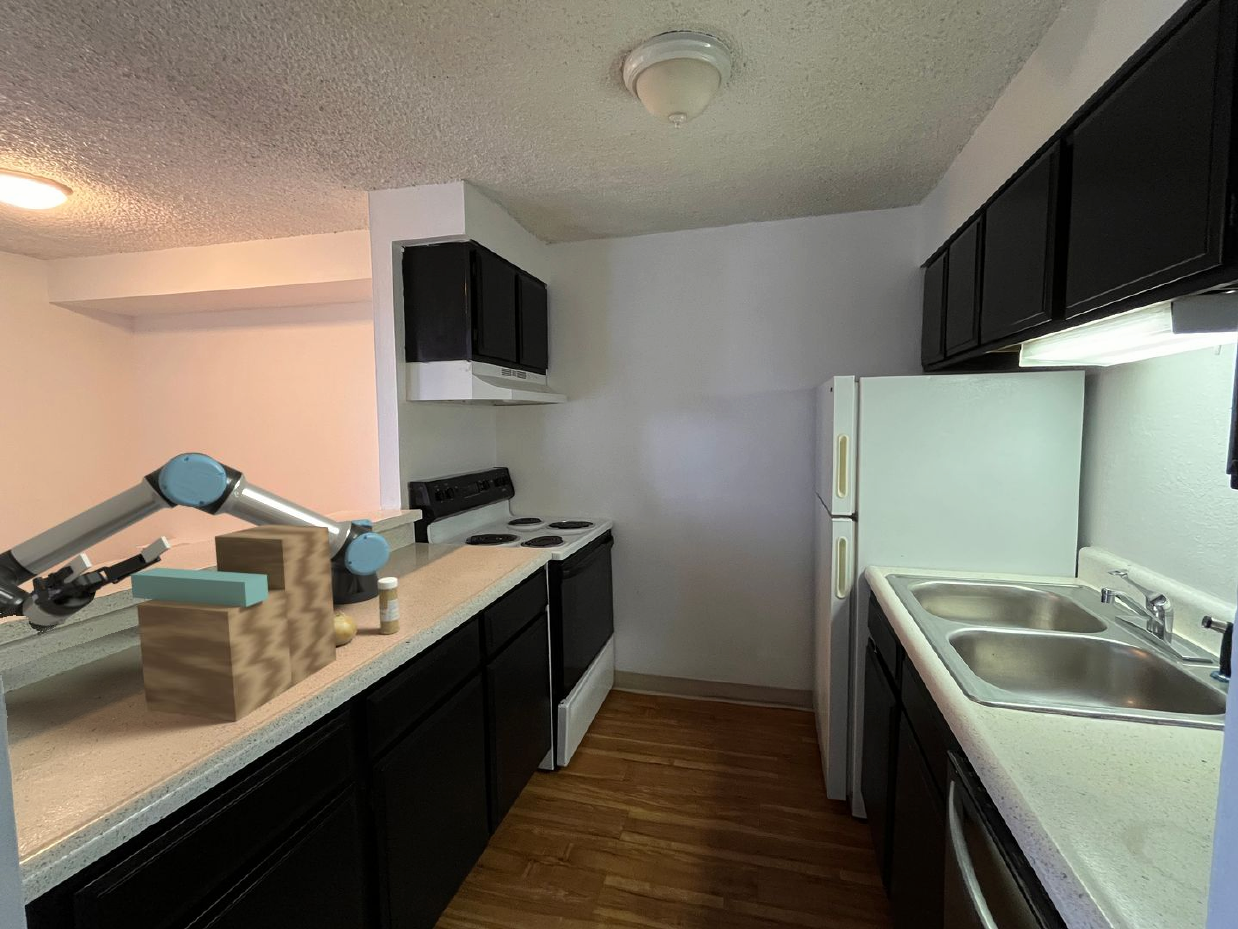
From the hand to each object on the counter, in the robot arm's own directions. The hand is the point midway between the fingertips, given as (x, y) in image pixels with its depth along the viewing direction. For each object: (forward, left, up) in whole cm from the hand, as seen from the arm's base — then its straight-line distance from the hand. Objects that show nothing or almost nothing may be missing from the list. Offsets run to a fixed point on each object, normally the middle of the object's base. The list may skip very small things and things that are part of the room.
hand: (128, 550), depth 99 cm
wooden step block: (-7, +18, -28) cm, 34 cm away
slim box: (0, +16, -8) cm, 18 cm away
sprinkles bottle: (-35, +30, -29) cm, 54 cm away
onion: (-27, +22, -29) cm, 45 cm away
